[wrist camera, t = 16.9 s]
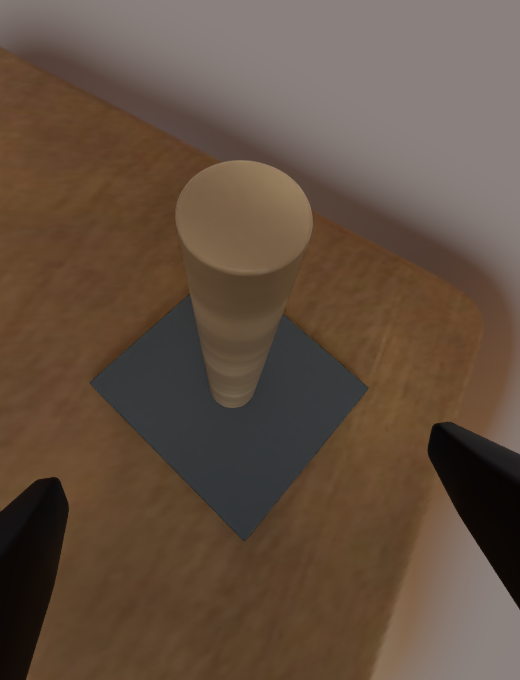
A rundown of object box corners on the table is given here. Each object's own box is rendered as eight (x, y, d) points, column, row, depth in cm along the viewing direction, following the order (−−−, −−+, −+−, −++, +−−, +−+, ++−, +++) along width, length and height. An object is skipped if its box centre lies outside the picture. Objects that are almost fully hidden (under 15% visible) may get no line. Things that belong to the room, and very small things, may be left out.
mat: (365, 389, 21) (369, 387, 20) (243, 539, 18) (244, 542, 17) (224, 267, 22) (224, 262, 22) (92, 384, 19) (88, 382, 19)
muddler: (244, 415, 19) (286, 296, 6) (202, 397, 19) (149, 241, 6) (261, 373, 20) (331, 186, 7) (220, 357, 20) (210, 140, 7)
